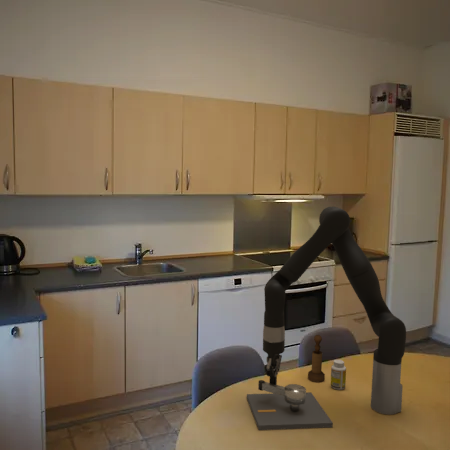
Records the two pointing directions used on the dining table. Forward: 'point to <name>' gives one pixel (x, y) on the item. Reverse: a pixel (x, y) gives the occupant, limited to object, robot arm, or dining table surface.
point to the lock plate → (286, 413)
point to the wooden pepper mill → (316, 363)
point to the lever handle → (286, 393)
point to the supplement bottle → (338, 375)
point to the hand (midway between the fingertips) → (273, 386)
